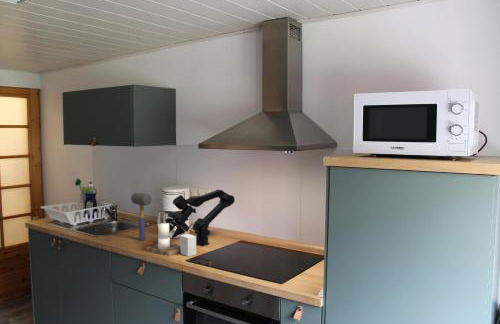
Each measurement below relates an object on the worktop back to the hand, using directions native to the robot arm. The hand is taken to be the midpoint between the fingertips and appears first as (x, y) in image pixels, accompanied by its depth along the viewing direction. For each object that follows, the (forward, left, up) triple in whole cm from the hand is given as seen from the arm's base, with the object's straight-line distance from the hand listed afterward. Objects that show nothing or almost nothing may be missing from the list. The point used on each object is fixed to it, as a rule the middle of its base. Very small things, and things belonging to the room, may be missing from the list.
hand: (168, 236), depth 230 cm
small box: (-13, -2, -9) cm, 16 cm away
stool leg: (+1, +3, -8) cm, 9 cm away
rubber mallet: (+32, -8, -9) cm, 34 cm away
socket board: (+2, -1, -9) cm, 9 cm away
